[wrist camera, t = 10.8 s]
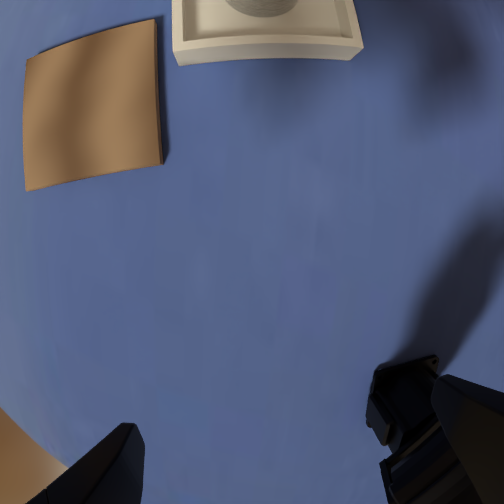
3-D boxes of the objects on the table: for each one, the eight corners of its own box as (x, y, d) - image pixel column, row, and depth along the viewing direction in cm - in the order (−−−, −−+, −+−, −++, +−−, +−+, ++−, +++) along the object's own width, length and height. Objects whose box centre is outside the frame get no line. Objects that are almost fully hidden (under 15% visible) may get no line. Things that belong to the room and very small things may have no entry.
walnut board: (157, 25, 16) (154, 18, 15) (163, 164, 18) (160, 163, 17) (33, 63, 16) (26, 59, 15) (33, 190, 18) (26, 191, 17)
